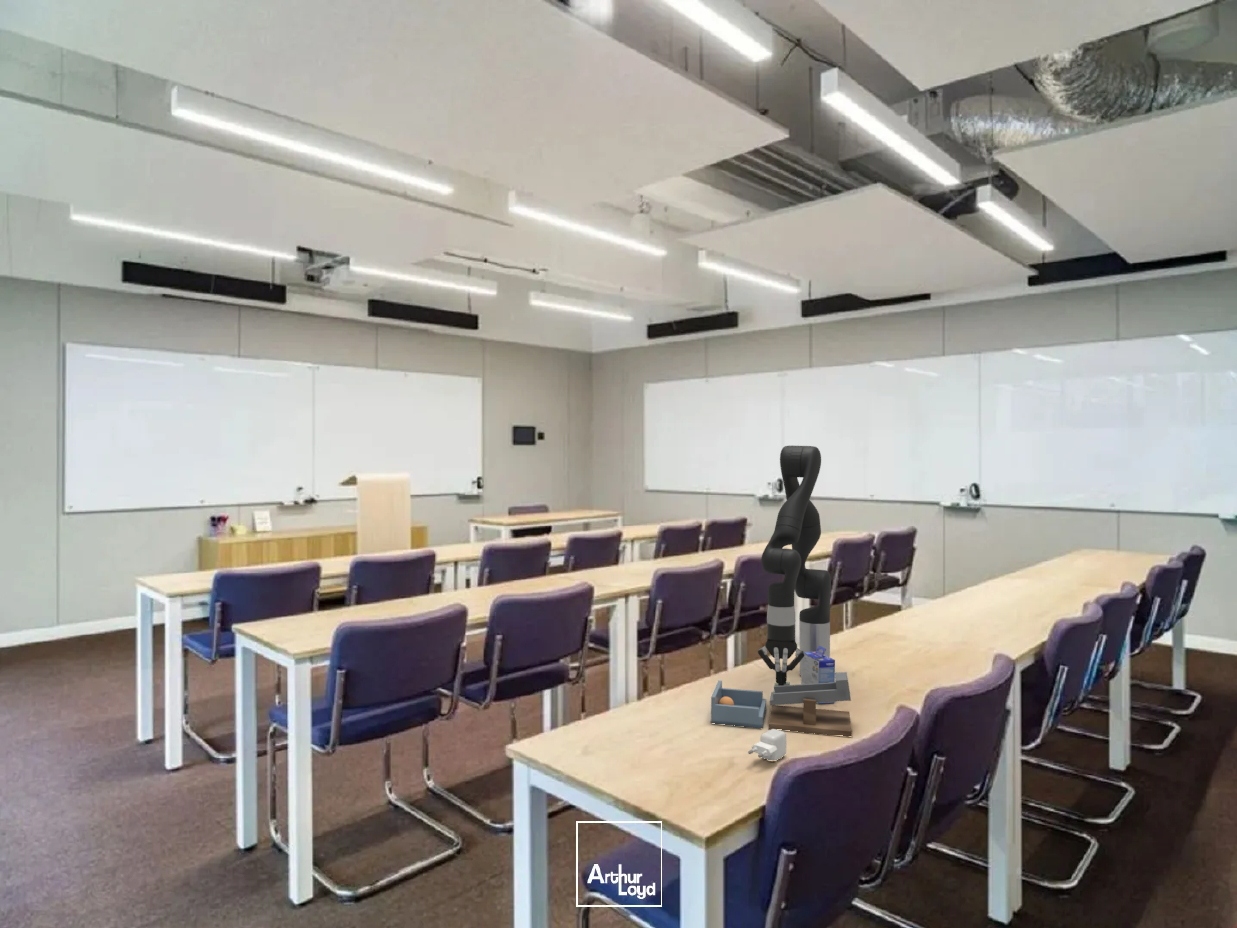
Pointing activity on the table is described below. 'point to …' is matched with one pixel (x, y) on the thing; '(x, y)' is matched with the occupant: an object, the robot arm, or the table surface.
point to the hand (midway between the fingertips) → (781, 684)
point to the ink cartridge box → (817, 668)
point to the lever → (812, 691)
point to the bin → (738, 707)
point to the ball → (726, 701)
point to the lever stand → (810, 719)
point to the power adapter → (771, 745)
